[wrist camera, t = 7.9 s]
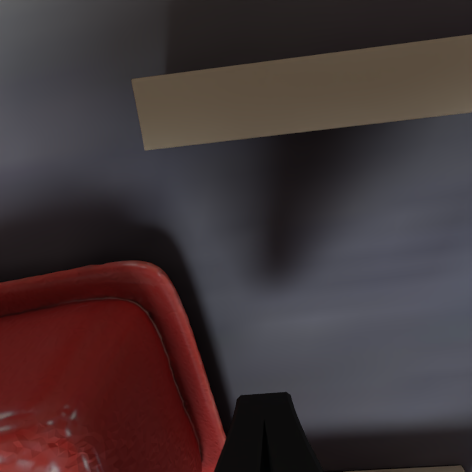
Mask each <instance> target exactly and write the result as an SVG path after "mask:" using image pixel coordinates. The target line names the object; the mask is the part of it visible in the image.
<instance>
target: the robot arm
mask: <svg viewBox="0 0 472 472" xmlns="http://www.w3.org/2000/svg"><path fill="white" fill-rule="evenodd" d="M214 472H324V471H323V469H322V467H321V465H320V463H319V461H318V459H317V458H316V456H315V454H314V452H313V450H312V448H311V446H310V444H309V442H308V440H307V437H306V435H305V433H304V431H303V428H302V426H301V424H300V422H299V419H298V417H297V414H296V411H295V408H294V405H293V402H292V399H291V395H290V394H288V393H287V392H280V393H266V394H253V395H241V396H240V397H239V398H238V399H237V402H236V407H235V411H234V415H233V418H232V422H231V425H230V428H229V431H228V434H227V437H226V440H225V443H224V446H223V449H222V451H221V454H220V456H219V459H218V462H217V464H216V467H215V470H214Z"/></svg>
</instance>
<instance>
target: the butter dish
mask: <svg viewBox="0 0 472 472" xmlns="http://www.w3.org/2000/svg"><path fill="white" fill-rule="evenodd" d="M225 440H226V435H225V432H224V429H223V426H222V423H221V420H220V416H219V413H218V409H217V406H216V404H215V401H214V397H213V394H212V392H211V388H210V385H209V381H208V378H207V375H206V372H205V368H204V365H203V362H202V359H201V356H200V353H199V350H198V347H197V344H196V341H195V337H194V334H193V331H192V328H191V326H190V323H189V319H188V316H187V314H186V312H185V309H184V307H183V305H182V302H181V300H180V297H179V295H178V293H177V291H176V289H175V287H174V285H173V284H172V282H171V280H170V279H169V277H168V275H167V274H166V273H165V272H164V271H163V270H162V269H161V268H160V267H158V266H156V265H154V264H152V263H149V262H144V261H138V260H132V261H118V262H111V263H106V264H103V265H87V266H84V267H79V268H75V269H71V270H64V271H58V272H54V273H49V274H44V275H38V276H33V277H27V278H22V279H18V280H11V281H6V282H1V283H0V472H214V470H215V467H216V464H217V462H218V459H219V456H220V454H221V451H222V449H223V446H224V443H225Z"/></svg>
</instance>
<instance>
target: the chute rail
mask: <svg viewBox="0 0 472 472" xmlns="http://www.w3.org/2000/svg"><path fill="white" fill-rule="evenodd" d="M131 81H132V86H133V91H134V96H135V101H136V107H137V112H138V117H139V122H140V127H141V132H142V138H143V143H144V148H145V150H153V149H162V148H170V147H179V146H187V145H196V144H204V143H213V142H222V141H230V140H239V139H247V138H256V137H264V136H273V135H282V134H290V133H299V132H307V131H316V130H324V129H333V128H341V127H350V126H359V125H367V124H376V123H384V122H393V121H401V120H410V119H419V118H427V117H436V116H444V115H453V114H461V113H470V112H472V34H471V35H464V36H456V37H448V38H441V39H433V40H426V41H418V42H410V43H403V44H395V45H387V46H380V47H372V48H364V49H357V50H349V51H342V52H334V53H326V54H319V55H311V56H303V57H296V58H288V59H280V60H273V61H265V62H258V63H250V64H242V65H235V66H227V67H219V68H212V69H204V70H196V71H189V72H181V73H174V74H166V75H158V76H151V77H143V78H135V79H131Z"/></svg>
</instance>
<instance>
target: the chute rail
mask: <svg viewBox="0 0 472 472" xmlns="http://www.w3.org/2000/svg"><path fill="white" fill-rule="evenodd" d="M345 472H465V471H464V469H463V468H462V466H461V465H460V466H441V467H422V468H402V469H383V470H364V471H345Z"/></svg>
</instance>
